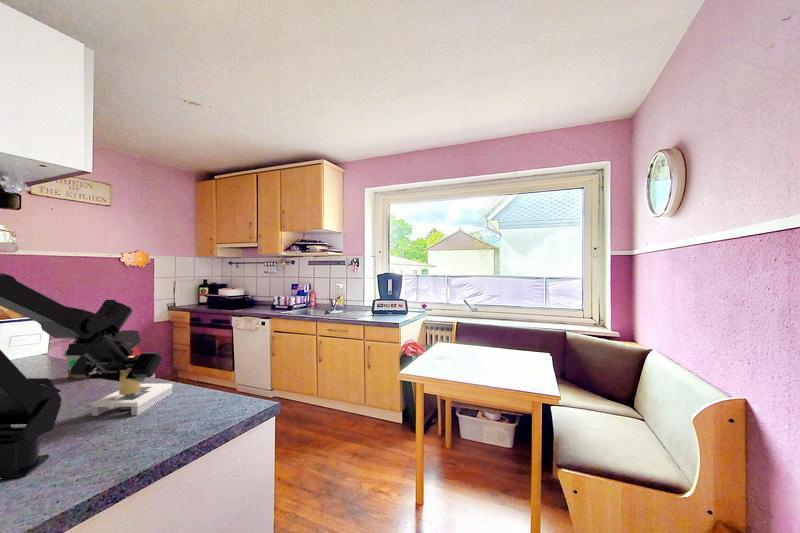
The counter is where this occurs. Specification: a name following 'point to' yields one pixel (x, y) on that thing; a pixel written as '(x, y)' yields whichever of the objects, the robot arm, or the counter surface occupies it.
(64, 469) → the counter surface
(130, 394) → the headed peg
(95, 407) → the keyhole plate
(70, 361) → the food container
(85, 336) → the robot arm
